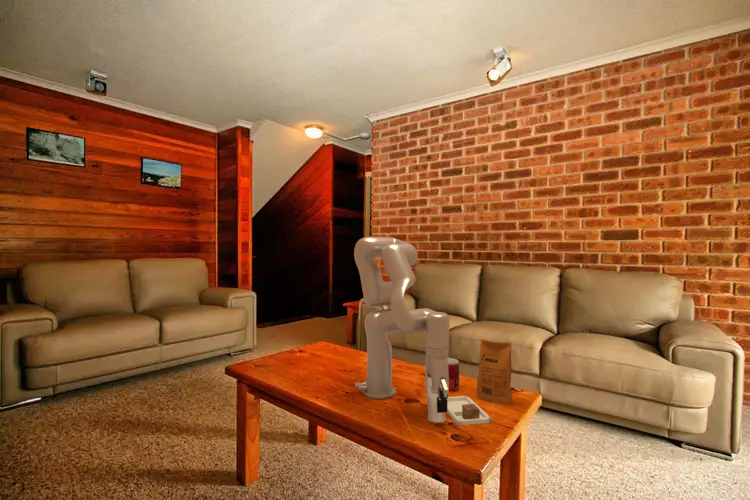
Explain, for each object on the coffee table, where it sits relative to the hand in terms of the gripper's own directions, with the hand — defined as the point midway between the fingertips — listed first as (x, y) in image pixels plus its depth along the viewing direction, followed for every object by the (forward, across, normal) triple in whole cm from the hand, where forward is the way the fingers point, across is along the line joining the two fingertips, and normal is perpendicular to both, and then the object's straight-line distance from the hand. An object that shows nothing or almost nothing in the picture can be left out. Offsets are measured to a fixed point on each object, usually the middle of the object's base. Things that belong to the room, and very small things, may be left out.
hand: (437, 405), depth 116 cm
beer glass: (+5, 0, 0) cm, 5 cm away
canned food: (+5, -26, +14) cm, 30 cm away
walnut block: (+4, +3, +10) cm, 11 cm away
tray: (+5, -3, +10) cm, 12 cm away
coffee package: (+5, -12, +26) cm, 29 cm away
